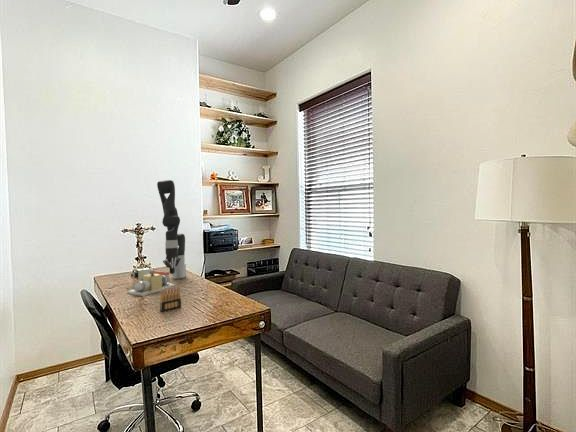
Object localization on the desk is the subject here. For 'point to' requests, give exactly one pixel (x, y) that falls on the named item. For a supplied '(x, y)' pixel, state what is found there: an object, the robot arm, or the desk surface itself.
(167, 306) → the ammunition clip
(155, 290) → the valve stand
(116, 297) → the desk surface
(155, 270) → the valve lever
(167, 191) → the robot arm
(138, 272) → the pneumatic valve
